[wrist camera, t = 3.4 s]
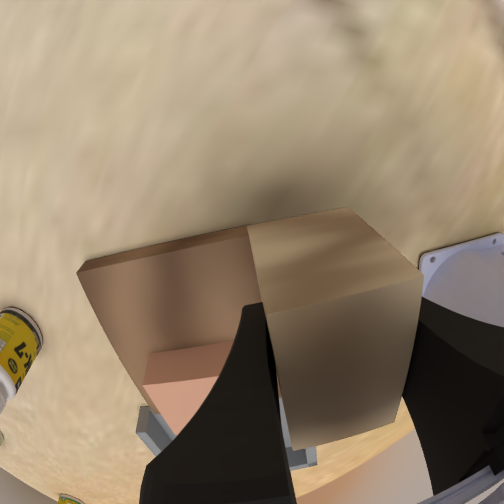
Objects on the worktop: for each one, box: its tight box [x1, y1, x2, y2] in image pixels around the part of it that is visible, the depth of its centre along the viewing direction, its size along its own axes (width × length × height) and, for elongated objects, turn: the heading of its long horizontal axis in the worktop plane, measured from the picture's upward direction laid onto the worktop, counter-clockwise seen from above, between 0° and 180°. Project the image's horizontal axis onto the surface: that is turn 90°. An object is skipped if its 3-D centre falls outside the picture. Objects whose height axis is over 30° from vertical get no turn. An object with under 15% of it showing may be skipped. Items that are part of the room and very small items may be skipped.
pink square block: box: [142, 341, 234, 435], centre depth 20 cm, size 6×6×3 cm
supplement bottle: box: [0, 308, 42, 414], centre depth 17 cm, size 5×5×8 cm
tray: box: [136, 397, 317, 471], centre depth 26 cm, size 15×11×3 cm
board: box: [77, 225, 281, 414], centre depth 21 cm, size 11×14×2 cm
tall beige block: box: [247, 207, 424, 451], centre depth 10 cm, size 4×6×5 cm, turn 10°
